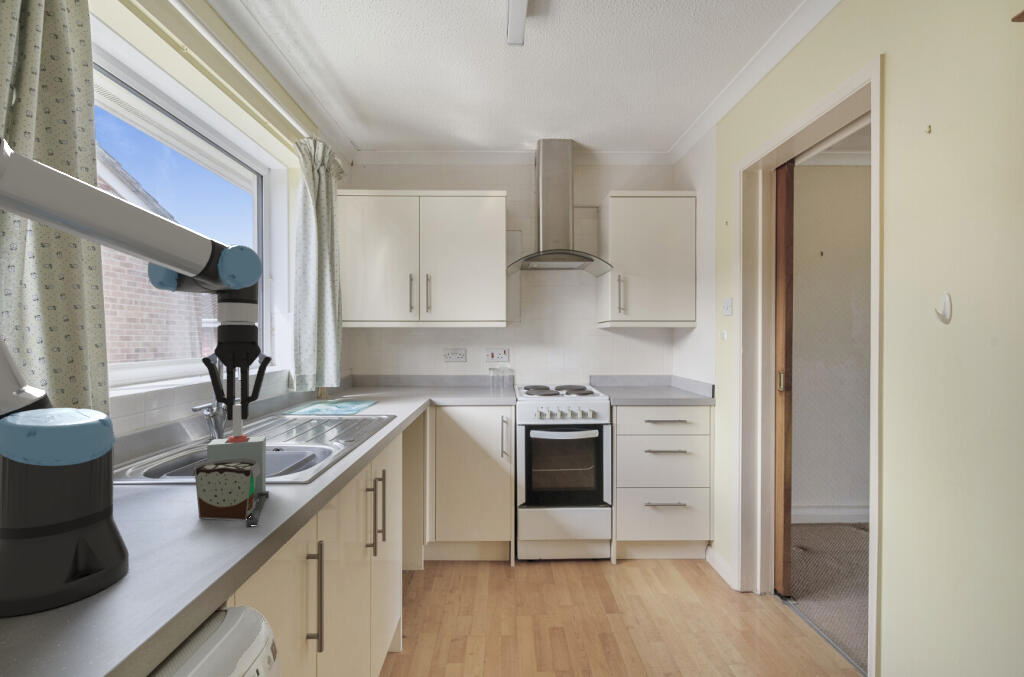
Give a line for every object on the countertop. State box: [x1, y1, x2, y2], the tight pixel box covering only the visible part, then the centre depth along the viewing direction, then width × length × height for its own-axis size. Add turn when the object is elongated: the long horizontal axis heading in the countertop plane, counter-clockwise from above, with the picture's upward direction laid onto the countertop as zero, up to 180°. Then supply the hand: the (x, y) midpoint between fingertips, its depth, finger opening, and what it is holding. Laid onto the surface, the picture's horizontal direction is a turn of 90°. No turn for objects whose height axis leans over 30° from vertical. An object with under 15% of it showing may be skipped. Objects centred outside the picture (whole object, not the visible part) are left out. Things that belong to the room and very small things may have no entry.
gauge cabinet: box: [206, 435, 267, 500], centre depth 99 cm, size 10×6×12 cm, turn 111°
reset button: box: [227, 434, 248, 443], centre depth 100 cm, size 3×3×2 cm
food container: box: [191, 458, 260, 521], centre depth 90 cm, size 12×6×10 cm, turn 85°
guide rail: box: [245, 490, 270, 527], centre depth 92 cm, size 2×17×1 cm, turn 22°
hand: (237, 435), depth 100 cm, fingers closed
